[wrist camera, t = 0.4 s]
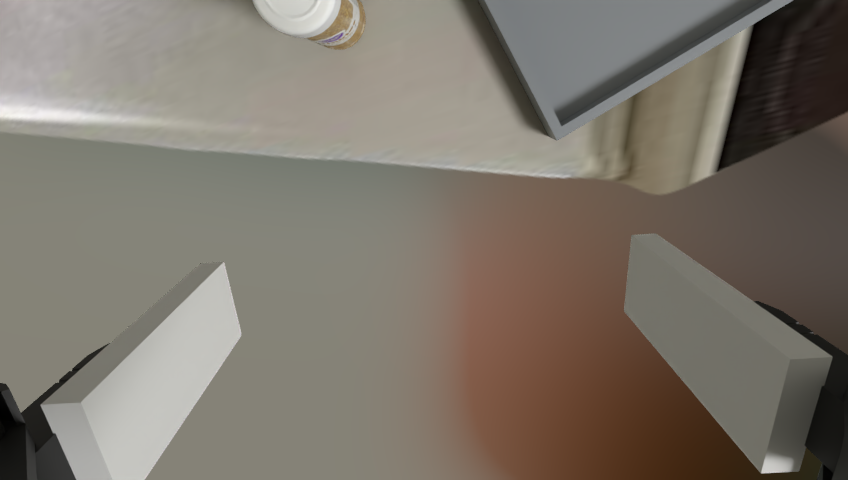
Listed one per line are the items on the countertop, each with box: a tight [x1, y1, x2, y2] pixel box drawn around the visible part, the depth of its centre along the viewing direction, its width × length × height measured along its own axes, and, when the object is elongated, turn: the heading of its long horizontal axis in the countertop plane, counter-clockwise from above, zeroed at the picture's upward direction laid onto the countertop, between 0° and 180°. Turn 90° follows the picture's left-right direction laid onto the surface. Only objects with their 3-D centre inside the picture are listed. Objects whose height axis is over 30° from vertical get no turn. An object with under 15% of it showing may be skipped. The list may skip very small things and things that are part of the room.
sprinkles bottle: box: [252, 0, 365, 49], centre depth 30 cm, size 5×5×13 cm
